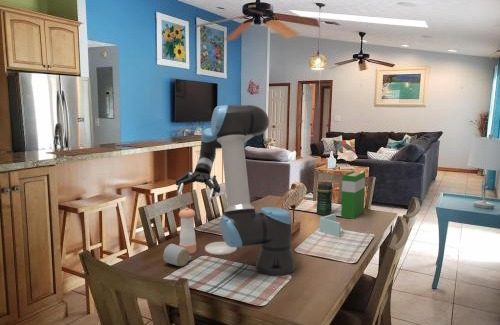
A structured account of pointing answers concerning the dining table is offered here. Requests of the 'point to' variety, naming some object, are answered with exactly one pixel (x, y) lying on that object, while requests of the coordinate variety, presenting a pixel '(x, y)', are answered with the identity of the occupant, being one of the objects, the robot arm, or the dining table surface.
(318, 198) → the coffee jar
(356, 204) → the hardback book
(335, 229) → the l-shaped corner panel
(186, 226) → the pepper shaker
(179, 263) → the ceramic mug
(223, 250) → the cream saucer
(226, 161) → the robot arm
